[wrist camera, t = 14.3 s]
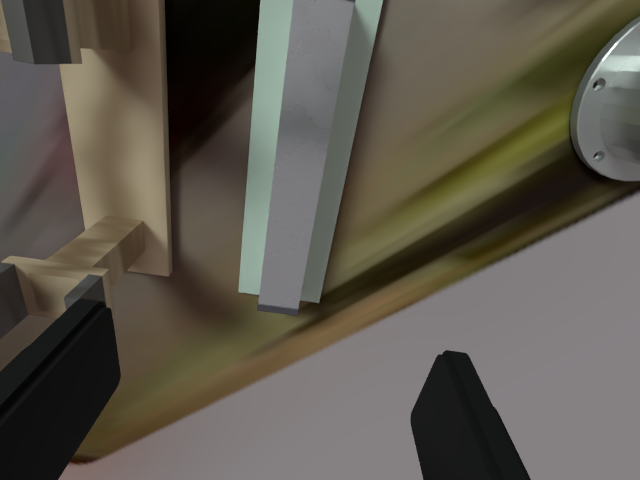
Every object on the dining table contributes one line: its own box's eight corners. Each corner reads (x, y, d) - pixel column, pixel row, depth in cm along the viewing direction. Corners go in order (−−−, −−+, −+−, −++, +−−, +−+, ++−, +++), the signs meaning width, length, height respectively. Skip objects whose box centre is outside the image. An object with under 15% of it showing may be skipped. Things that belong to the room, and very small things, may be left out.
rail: (298, -13, 22) (295, -25, 19) (352, -1, 23) (357, -11, 20) (262, 286, 33) (256, 310, 30) (299, 291, 34) (297, 315, 30)
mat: (384, -11, 23) (385, -12, 23) (319, 299, 35) (319, 302, 34) (264, -36, 22) (263, -38, 22) (239, 288, 34) (238, 292, 34)
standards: (163, -38, 22) (12, -135, 11) (172, 270, 33) (100, 374, 22) (50, -62, 22) (-225, -188, 11) (97, 260, 33) (-16, 361, 22)
